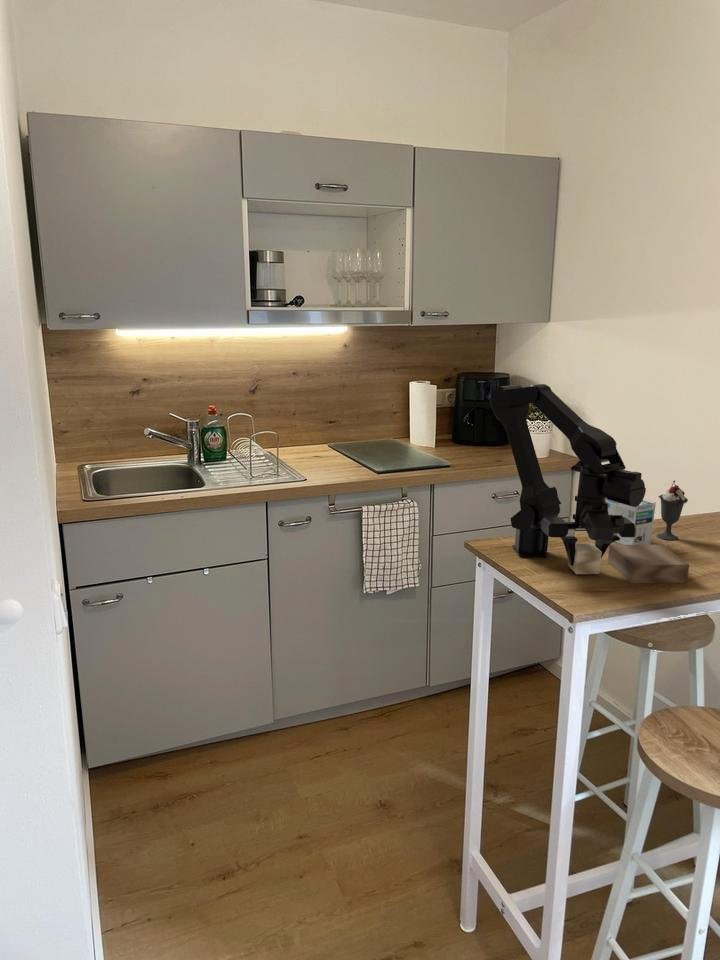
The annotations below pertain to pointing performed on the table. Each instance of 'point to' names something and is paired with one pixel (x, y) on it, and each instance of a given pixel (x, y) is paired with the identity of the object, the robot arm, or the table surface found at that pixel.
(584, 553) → the maple cube
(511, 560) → the table surface
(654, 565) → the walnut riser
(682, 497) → the sundae
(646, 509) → the light bulb box
